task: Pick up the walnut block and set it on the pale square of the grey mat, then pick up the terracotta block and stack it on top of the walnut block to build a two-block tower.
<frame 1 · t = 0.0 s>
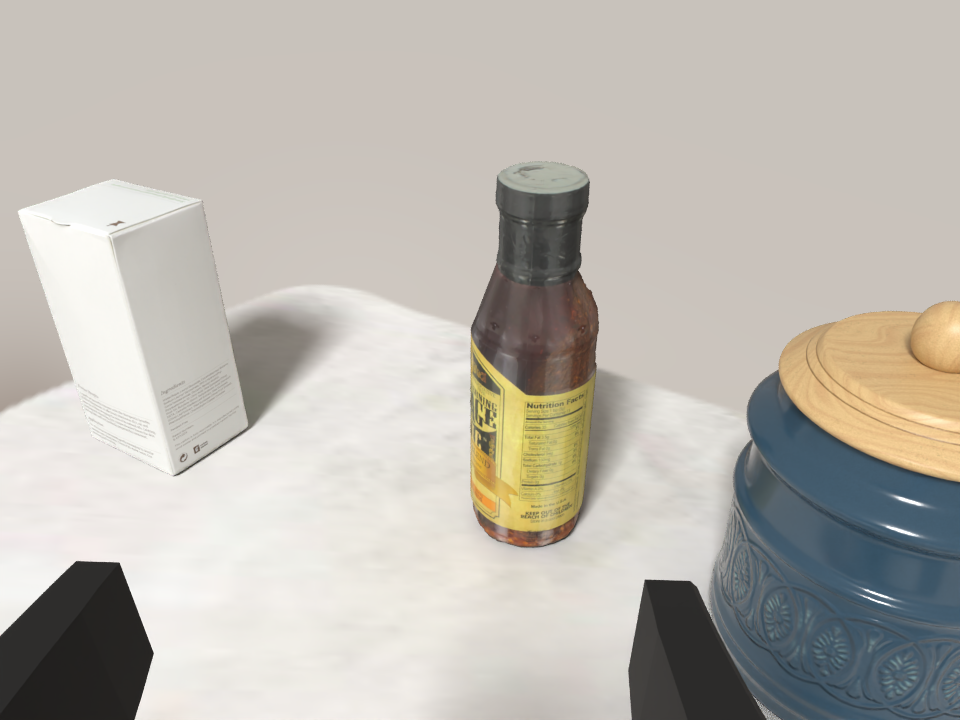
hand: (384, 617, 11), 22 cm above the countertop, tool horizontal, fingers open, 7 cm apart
skincare box: (167, 436, 52), on the countertop
canister: (846, 645, 38), on the countertop
sauce bottle: (525, 520, 46), on the countertop
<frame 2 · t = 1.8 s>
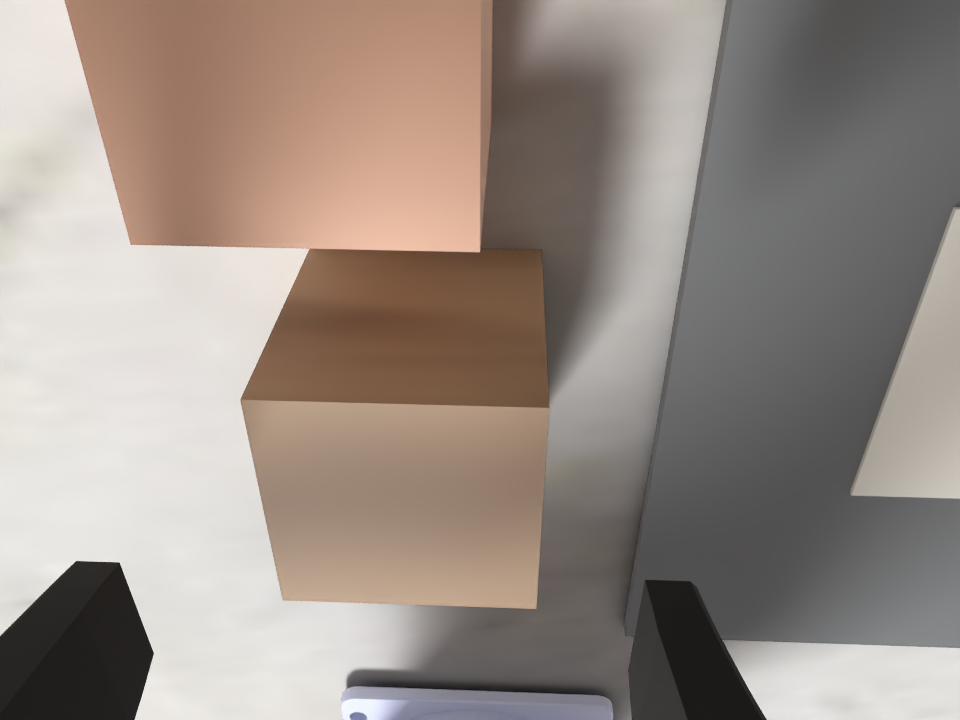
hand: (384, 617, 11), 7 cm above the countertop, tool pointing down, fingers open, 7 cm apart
walnut block: (430, 341, 17), on the countertop
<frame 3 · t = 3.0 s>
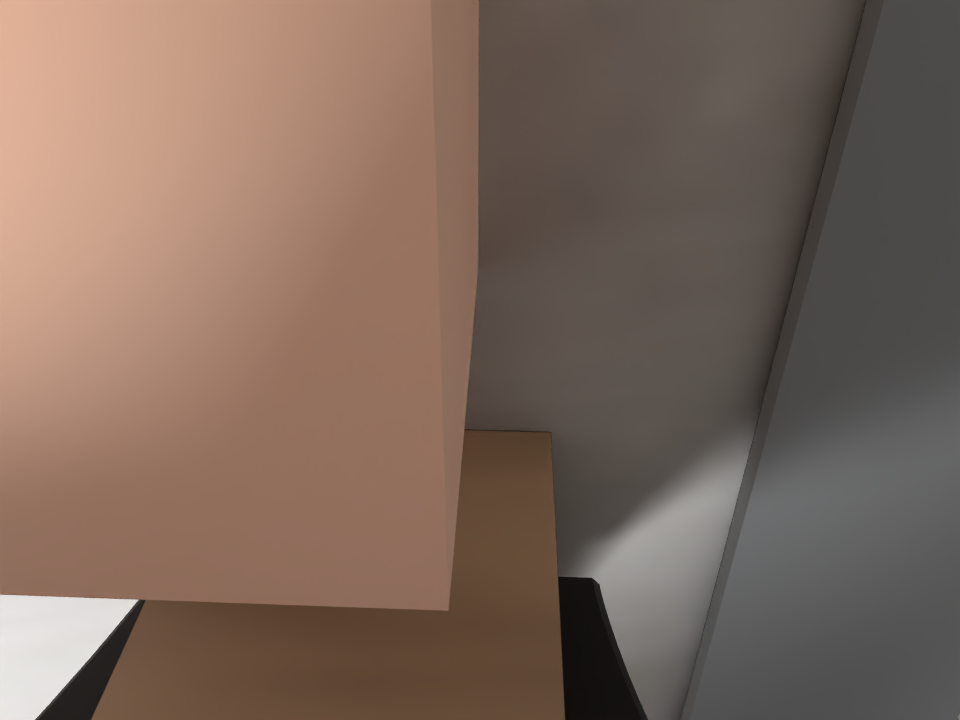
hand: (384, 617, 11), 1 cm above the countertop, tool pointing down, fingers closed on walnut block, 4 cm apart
walnut block: (396, 540, 13), on the countertop, touching gripper
terracotta block: (266, 75, 9), on the countertop
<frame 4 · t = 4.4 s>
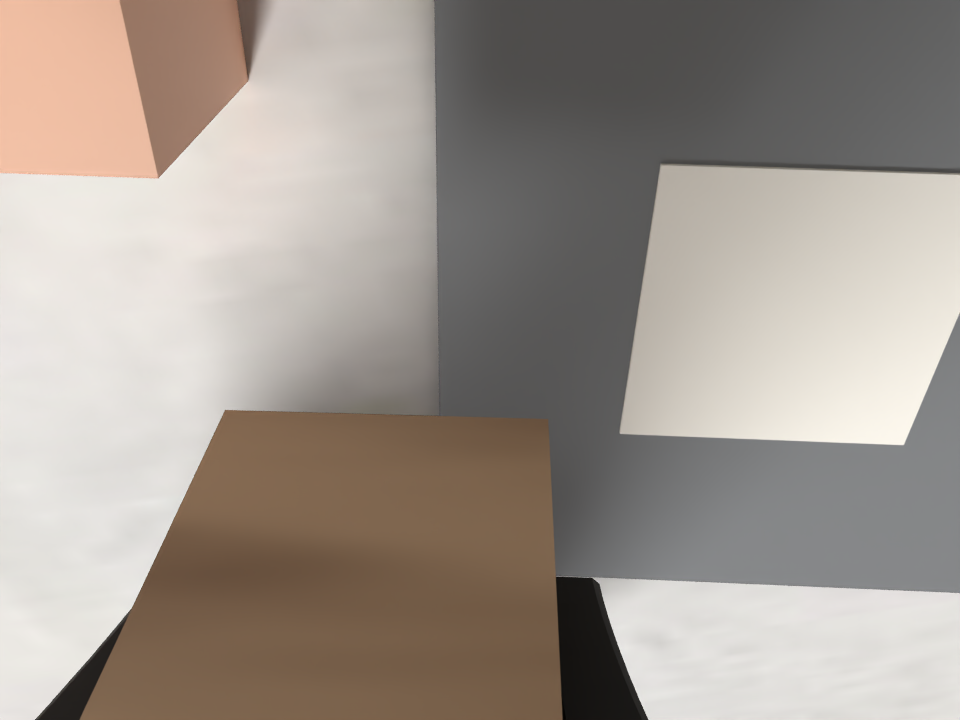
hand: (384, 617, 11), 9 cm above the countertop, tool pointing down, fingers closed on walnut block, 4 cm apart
grey mat: (789, 308, 19), on the countertop
walnut block: (394, 527, 13), point 7 cm above the countertop, touching gripper
when the fingers open (4 cm above the countertop, at t = 6.3 s): walnut block drops 2 cm, resting on grey mat.
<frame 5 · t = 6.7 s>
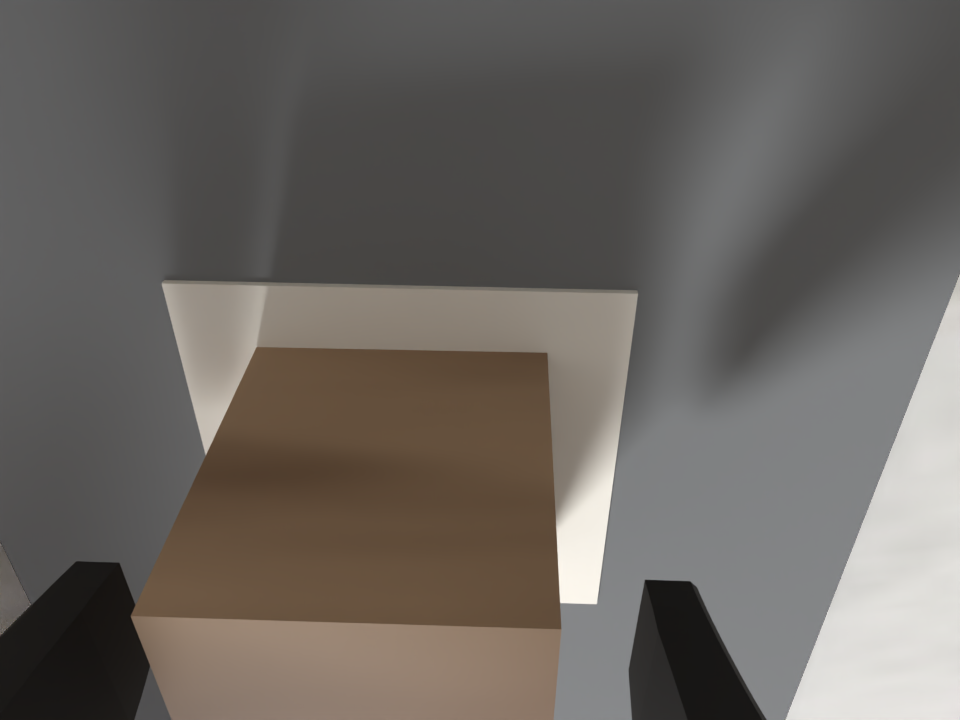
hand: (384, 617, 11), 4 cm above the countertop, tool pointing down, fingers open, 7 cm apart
grey mat: (412, 446, 14), on the countertop
walnut block: (408, 458, 14), resting on grey mat
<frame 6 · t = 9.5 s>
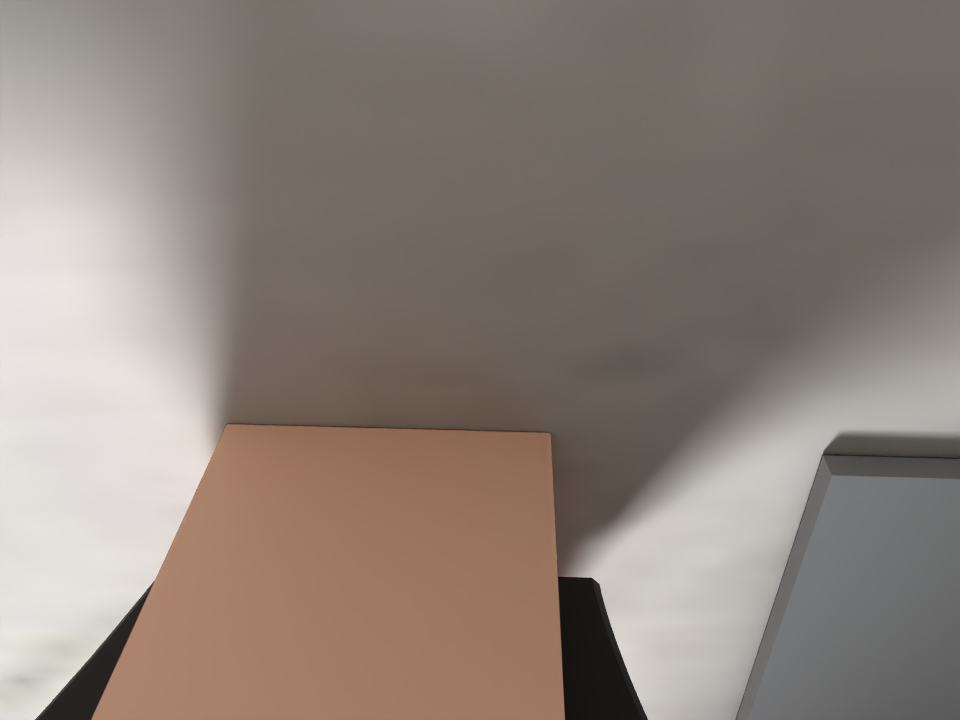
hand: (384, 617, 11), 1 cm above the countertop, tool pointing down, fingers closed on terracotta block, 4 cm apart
terracotta block: (396, 540, 13), on the countertop, touching gripper
when the fingers open (8 cm above the countertop, at t = 12.9 s): terracotta block drops 1 cm, resting on walnut block.
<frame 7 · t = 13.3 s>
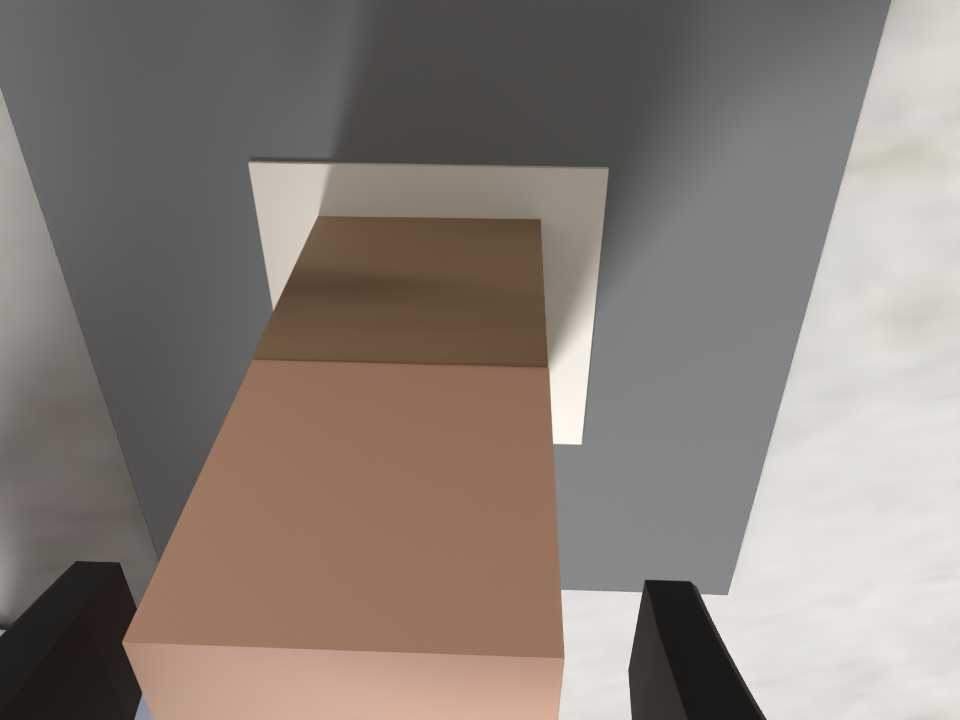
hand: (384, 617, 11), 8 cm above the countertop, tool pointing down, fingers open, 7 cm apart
grey mat: (434, 306, 18), on the countertop
walnut block: (432, 312, 18), resting on grey mat, touching terracotta block
terracotta block: (407, 472, 14), point 5 cm above the countertop, touching walnut block
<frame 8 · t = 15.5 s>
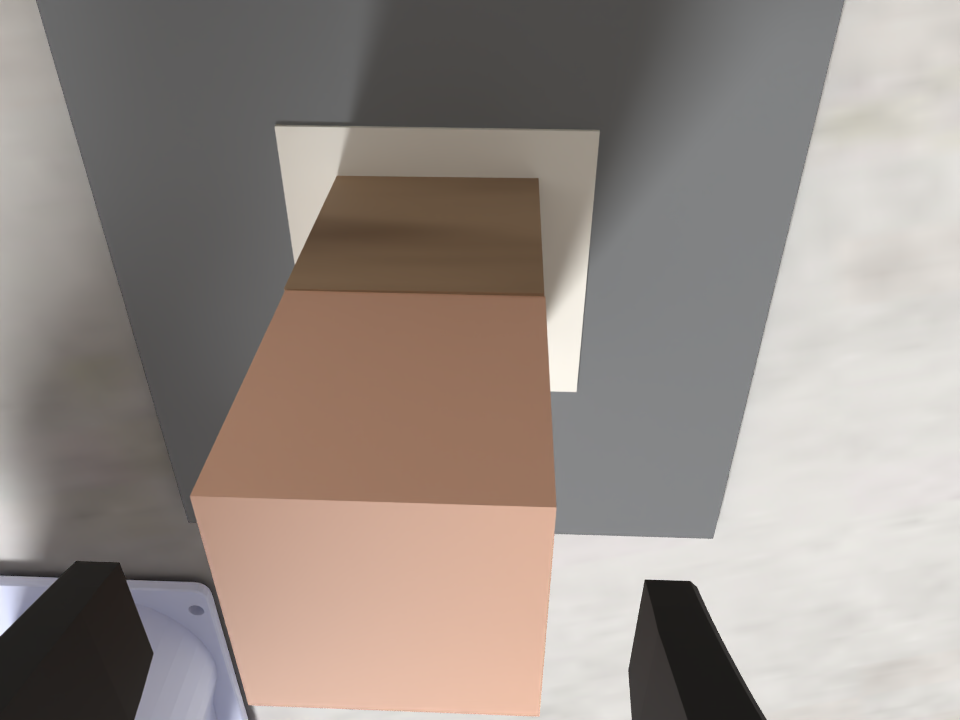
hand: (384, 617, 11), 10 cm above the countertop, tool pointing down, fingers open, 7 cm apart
grey mat: (441, 262, 20), on the countertop
walnut block: (440, 266, 19), resting on grey mat, touching terracotta block
terracotta block: (419, 396, 15), point 5 cm above the countertop, touching walnut block
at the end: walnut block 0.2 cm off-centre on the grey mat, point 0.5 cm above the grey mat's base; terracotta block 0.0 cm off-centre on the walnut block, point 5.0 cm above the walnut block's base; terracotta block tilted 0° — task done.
